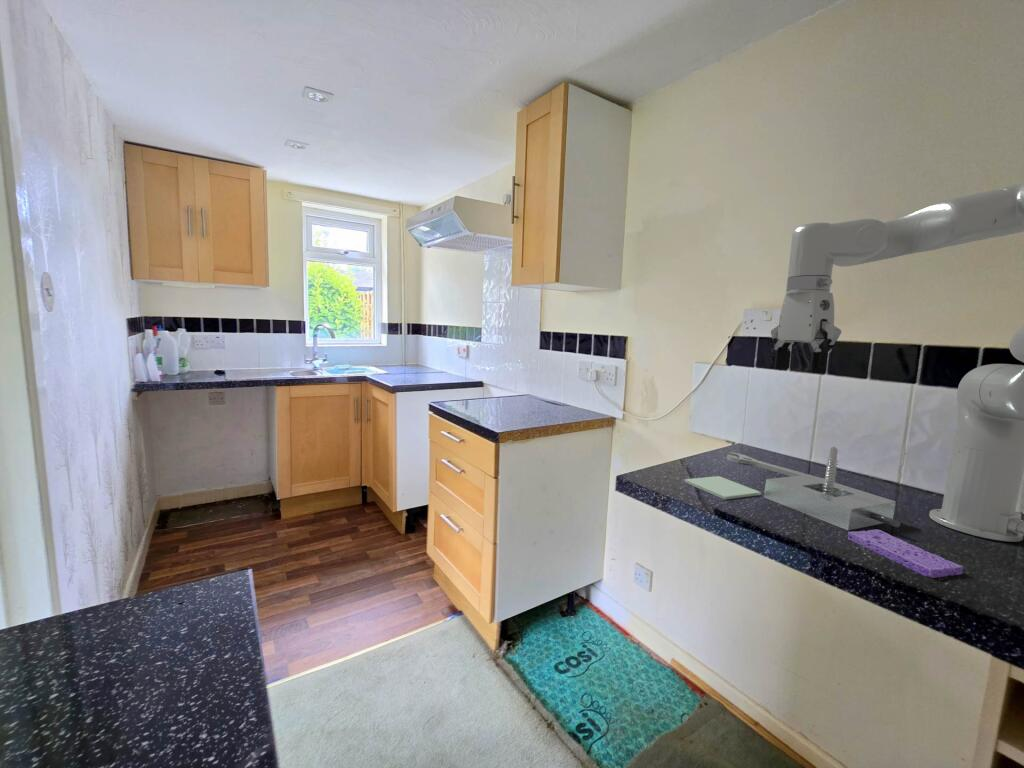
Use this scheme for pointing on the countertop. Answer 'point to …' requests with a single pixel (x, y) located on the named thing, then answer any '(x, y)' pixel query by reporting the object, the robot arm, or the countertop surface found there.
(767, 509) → the countertop surface
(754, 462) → the adjustable wrench
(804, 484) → the steel block
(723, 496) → the rubber mat
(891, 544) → the sponges
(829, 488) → the screw
